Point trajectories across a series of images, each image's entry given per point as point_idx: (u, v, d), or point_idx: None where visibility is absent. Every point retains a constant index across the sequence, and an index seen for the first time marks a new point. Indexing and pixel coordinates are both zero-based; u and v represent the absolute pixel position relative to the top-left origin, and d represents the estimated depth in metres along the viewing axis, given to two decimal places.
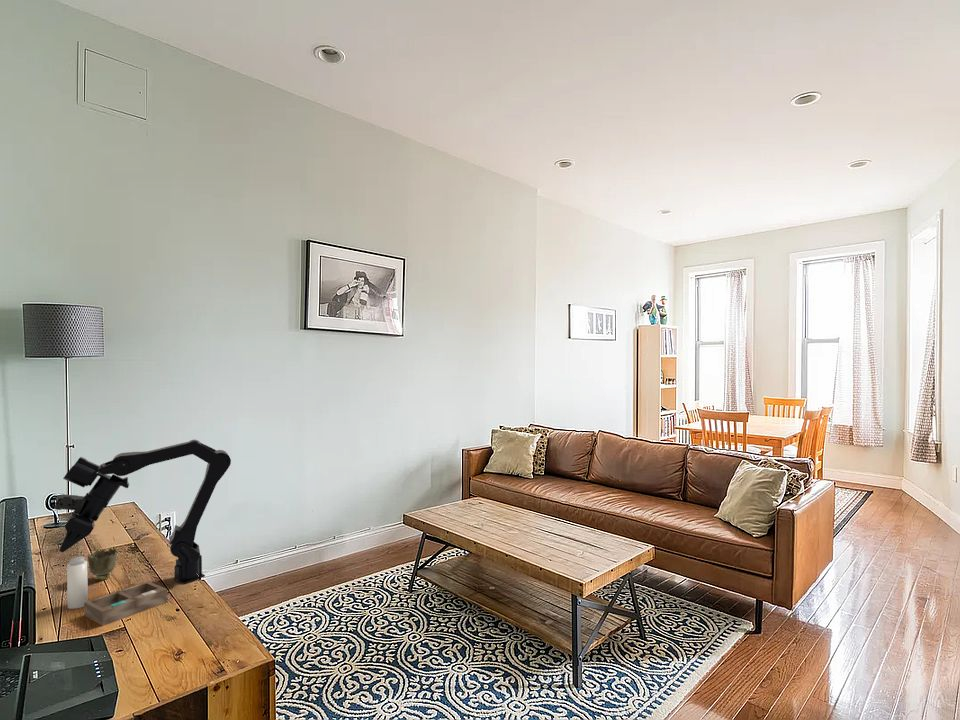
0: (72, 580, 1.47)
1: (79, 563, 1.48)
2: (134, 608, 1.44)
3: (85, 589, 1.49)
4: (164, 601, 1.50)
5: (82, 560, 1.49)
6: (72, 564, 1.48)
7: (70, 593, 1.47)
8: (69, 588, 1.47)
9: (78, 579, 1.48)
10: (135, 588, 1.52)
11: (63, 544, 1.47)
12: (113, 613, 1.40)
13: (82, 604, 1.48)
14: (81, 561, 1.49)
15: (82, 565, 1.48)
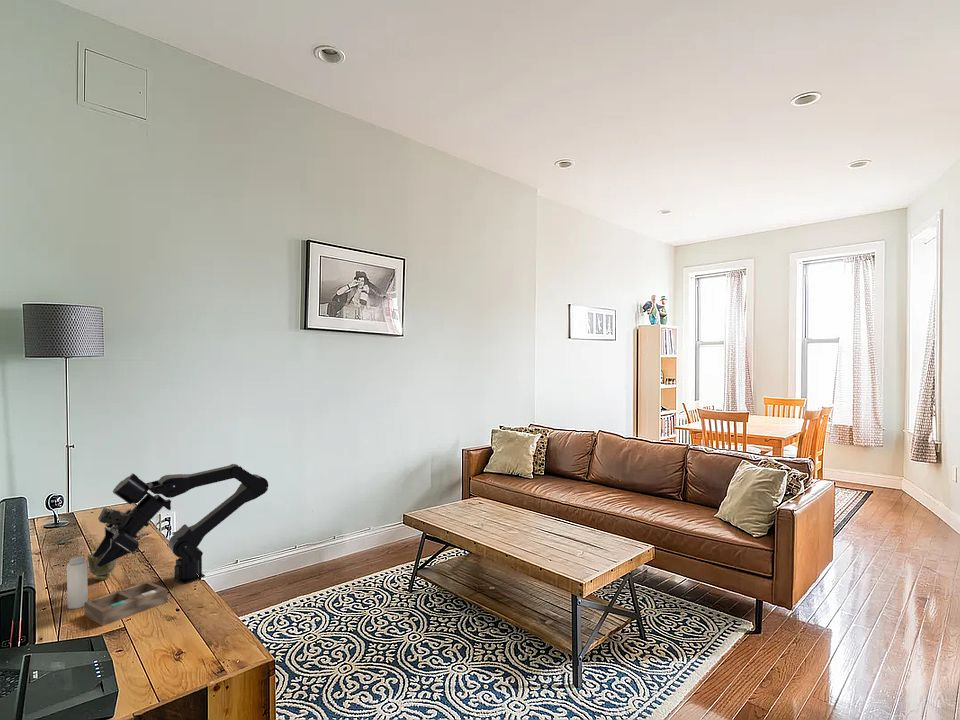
0: (72, 580, 1.47)
1: (79, 563, 1.48)
2: (134, 608, 1.44)
3: (85, 589, 1.49)
4: (164, 601, 1.50)
5: (82, 560, 1.49)
6: (72, 564, 1.48)
7: (69, 593, 1.47)
8: (69, 588, 1.47)
9: (78, 579, 1.48)
10: (135, 588, 1.52)
11: (103, 558, 1.48)
12: (113, 613, 1.40)
13: (82, 604, 1.48)
14: (81, 561, 1.49)
15: (82, 565, 1.48)
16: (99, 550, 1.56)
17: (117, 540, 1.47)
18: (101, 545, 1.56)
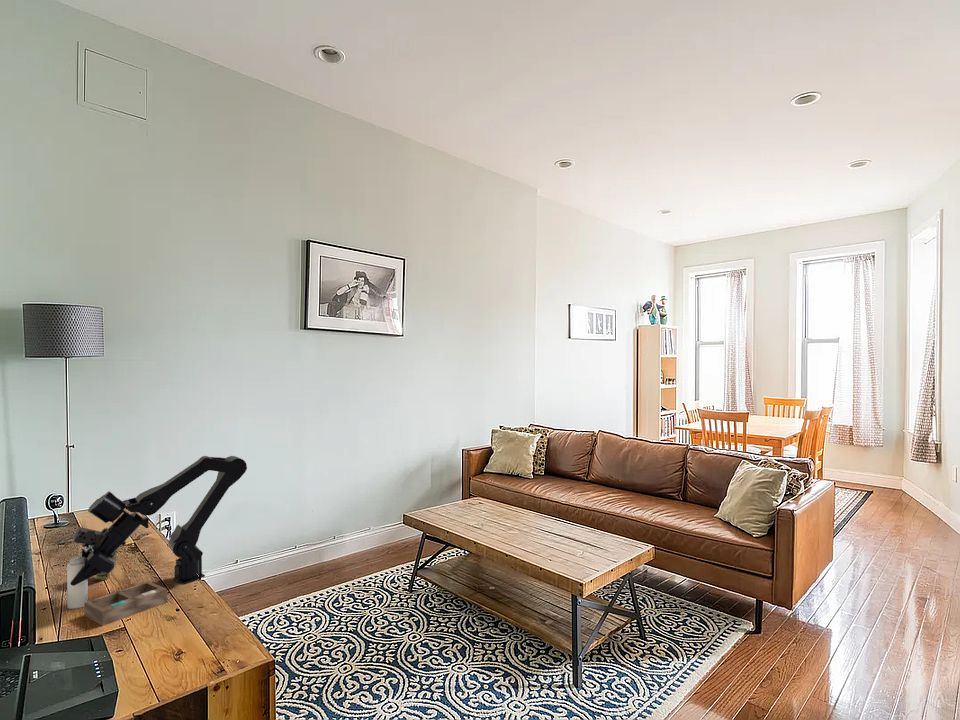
0: None
1: (79, 563, 1.48)
2: (134, 608, 1.44)
3: (85, 589, 1.49)
4: (164, 601, 1.50)
5: (82, 560, 1.49)
6: (72, 564, 1.48)
7: (69, 593, 1.47)
8: (69, 588, 1.47)
9: None
10: (135, 588, 1.52)
11: (76, 577, 1.47)
12: (113, 613, 1.40)
13: (82, 604, 1.48)
14: (81, 561, 1.49)
15: (82, 565, 1.48)
16: None
17: (91, 561, 1.44)
18: None
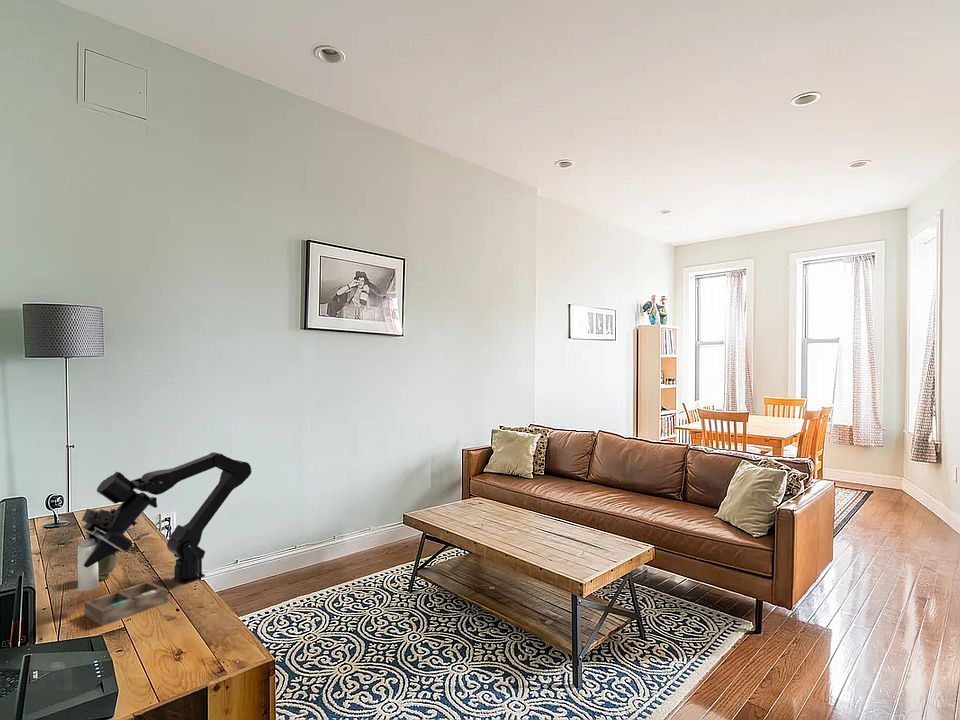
0: None
1: (91, 544, 1.46)
2: (134, 608, 1.44)
3: (97, 571, 1.47)
4: (164, 601, 1.50)
5: (94, 541, 1.46)
6: (84, 546, 1.45)
7: (82, 576, 1.44)
8: (81, 570, 1.44)
9: None
10: (135, 588, 1.52)
11: (90, 558, 1.44)
12: (113, 613, 1.40)
13: (95, 586, 1.46)
14: (93, 542, 1.46)
15: (94, 546, 1.46)
16: None
17: (111, 540, 1.42)
18: None
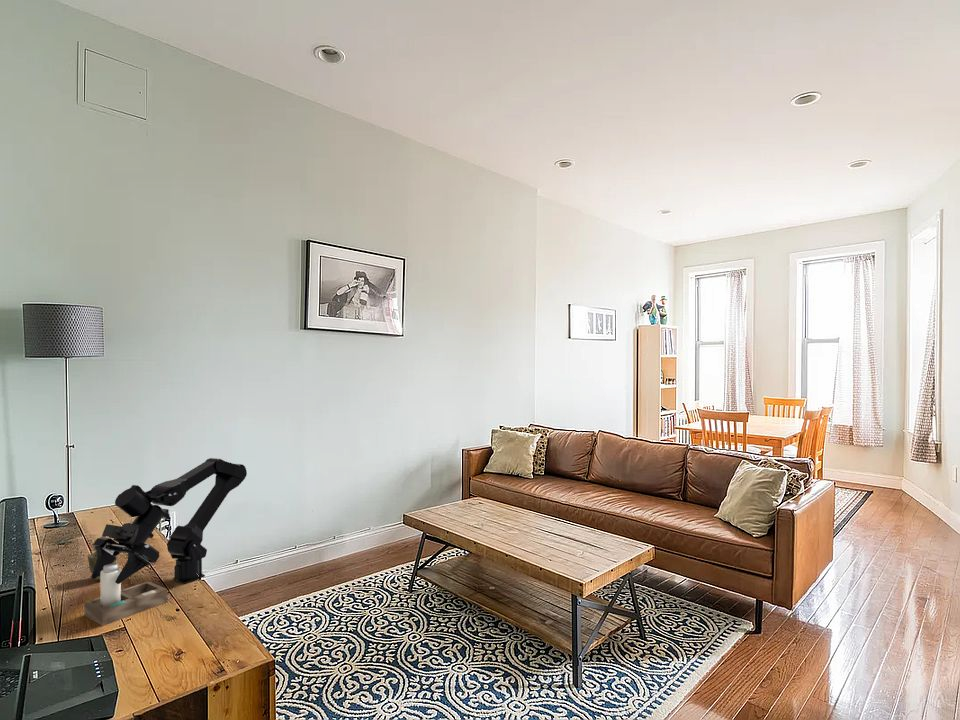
0: (111, 587, 1.42)
1: (116, 569, 1.44)
2: (134, 608, 1.44)
3: (120, 595, 1.45)
4: (164, 601, 1.50)
5: (117, 566, 1.44)
6: (109, 571, 1.42)
7: (107, 602, 1.42)
8: (107, 596, 1.42)
9: (116, 585, 1.43)
10: (135, 588, 1.52)
11: (122, 574, 1.42)
12: (113, 613, 1.40)
13: None
14: (117, 567, 1.44)
15: (119, 571, 1.44)
16: (97, 571, 1.45)
17: (143, 552, 1.43)
18: (98, 565, 1.46)
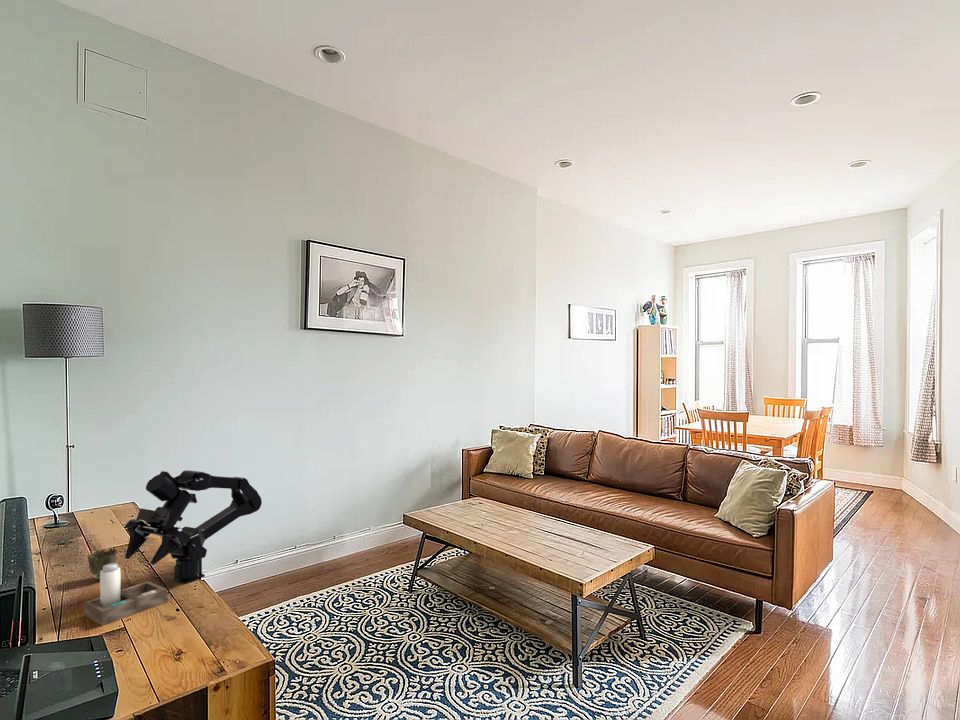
0: (111, 587, 1.42)
1: (115, 569, 1.44)
2: (134, 608, 1.44)
3: (120, 595, 1.45)
4: (164, 601, 1.50)
5: (117, 566, 1.45)
6: (109, 571, 1.43)
7: (107, 601, 1.42)
8: (106, 596, 1.42)
9: (116, 585, 1.43)
10: (135, 588, 1.52)
11: (157, 556, 1.51)
12: (113, 613, 1.40)
13: None
14: (117, 567, 1.44)
15: (119, 570, 1.44)
16: (130, 551, 1.54)
17: (177, 535, 1.52)
18: (131, 546, 1.55)
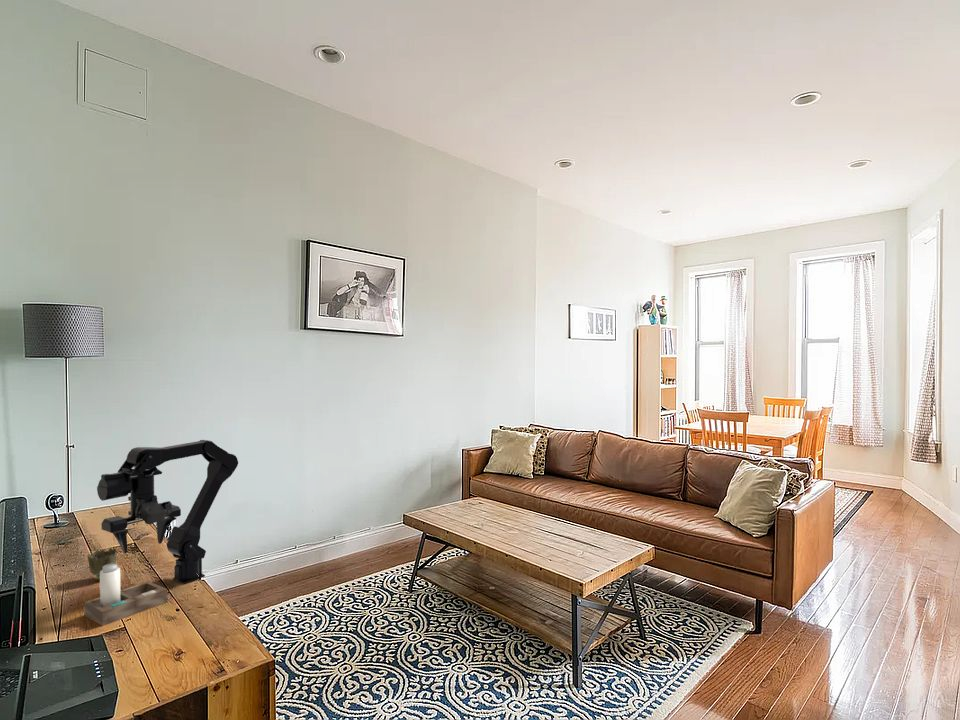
0: (111, 587, 1.42)
1: (115, 569, 1.44)
2: (134, 608, 1.44)
3: (120, 595, 1.45)
4: (164, 601, 1.50)
5: (116, 566, 1.45)
6: (108, 571, 1.43)
7: (107, 602, 1.42)
8: (106, 596, 1.42)
9: (116, 585, 1.43)
10: (135, 588, 1.52)
11: None
12: (113, 613, 1.40)
13: None
14: (116, 567, 1.44)
15: (118, 571, 1.44)
16: None
17: None
18: None
